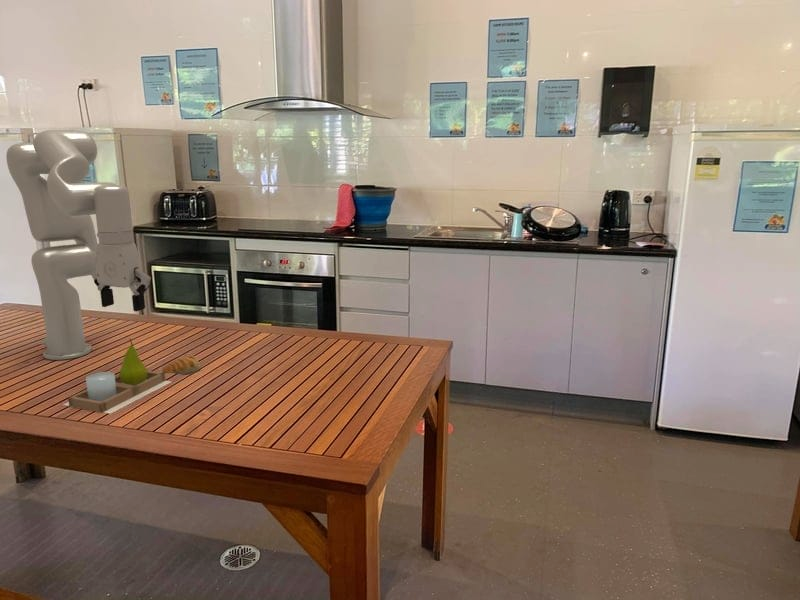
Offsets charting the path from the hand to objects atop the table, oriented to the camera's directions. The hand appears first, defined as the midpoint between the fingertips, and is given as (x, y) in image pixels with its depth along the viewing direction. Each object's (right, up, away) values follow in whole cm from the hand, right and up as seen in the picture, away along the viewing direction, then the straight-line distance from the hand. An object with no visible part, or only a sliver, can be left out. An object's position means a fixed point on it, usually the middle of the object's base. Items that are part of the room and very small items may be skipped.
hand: (123, 307), depth 145 cm
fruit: (+1, -19, +3) cm, 20 cm away
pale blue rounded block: (-2, -22, -6) cm, 23 cm away
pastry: (+9, -18, +16) cm, 26 cm away
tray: (0, -22, -1) cm, 22 cm away
